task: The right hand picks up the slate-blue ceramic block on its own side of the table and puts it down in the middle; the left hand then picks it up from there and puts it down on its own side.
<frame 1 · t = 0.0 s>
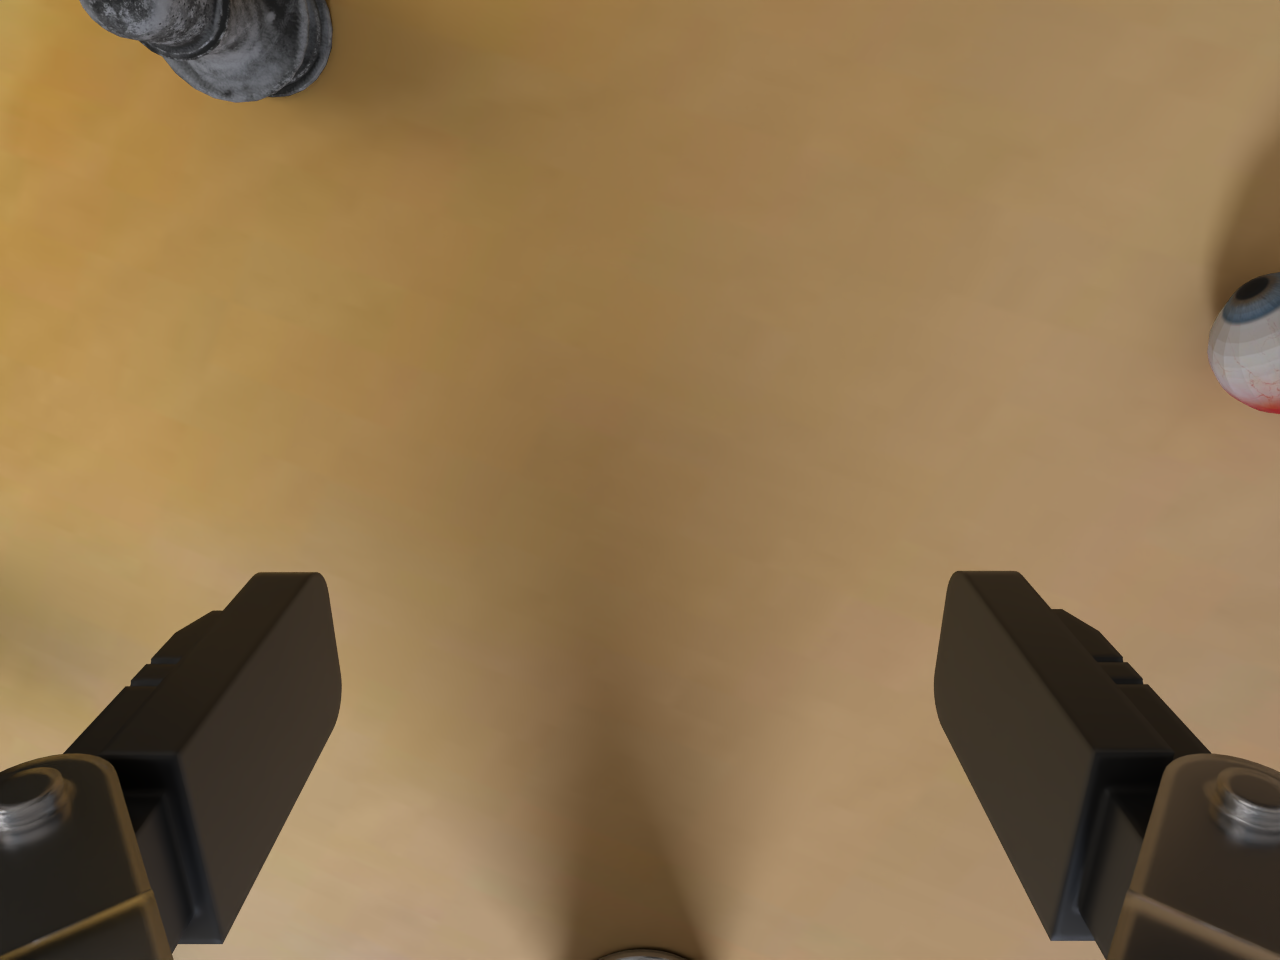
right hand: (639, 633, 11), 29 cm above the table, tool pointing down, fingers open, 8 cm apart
grey tall turned piece: (267, 25, 35), on the table
eyeball: (1242, 324, 39), on the table
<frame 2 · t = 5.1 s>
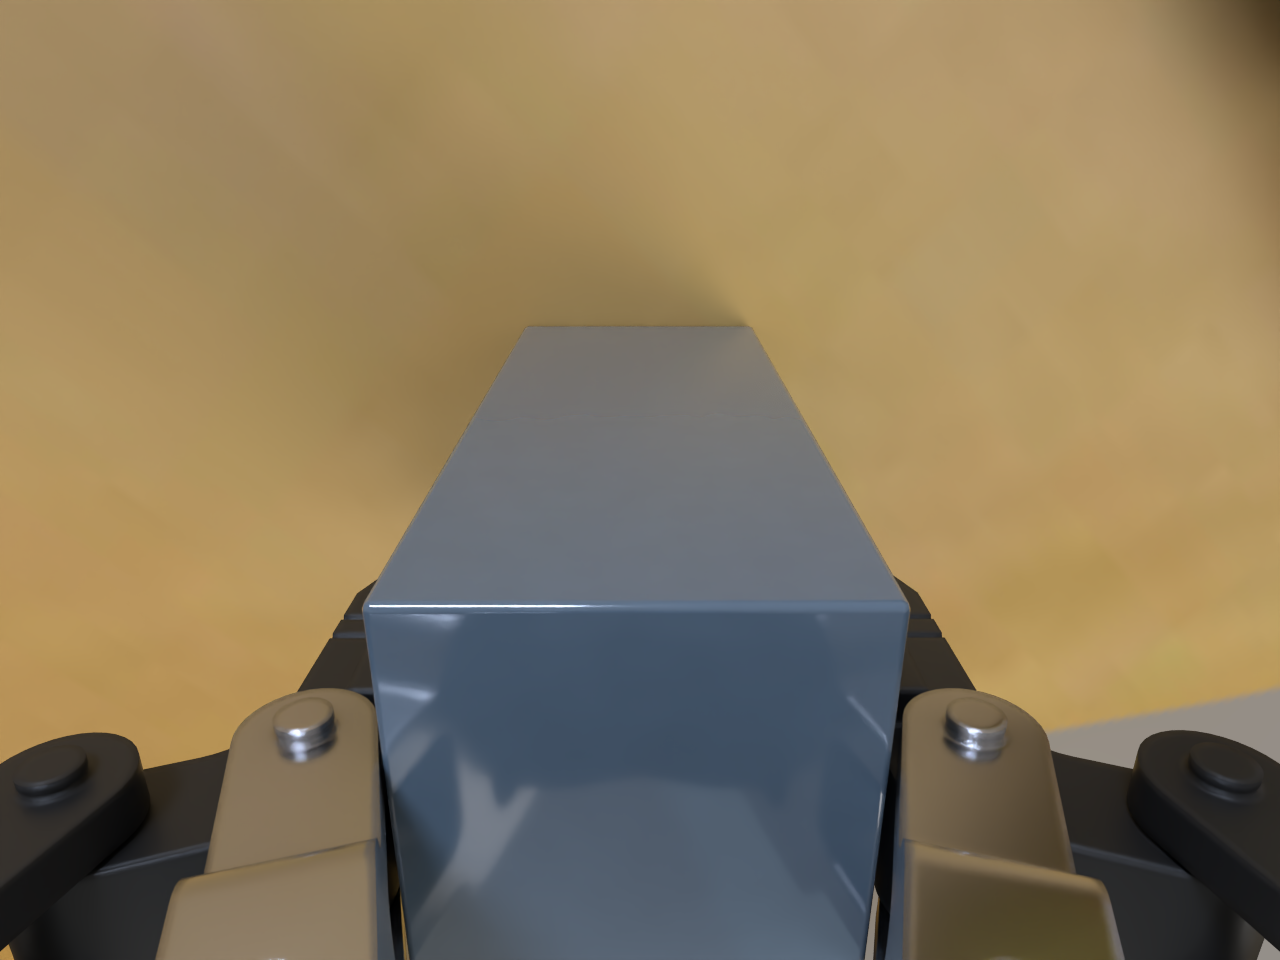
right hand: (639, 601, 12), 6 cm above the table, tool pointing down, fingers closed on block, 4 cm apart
block: (638, 460, 17), on the table, touching right hand
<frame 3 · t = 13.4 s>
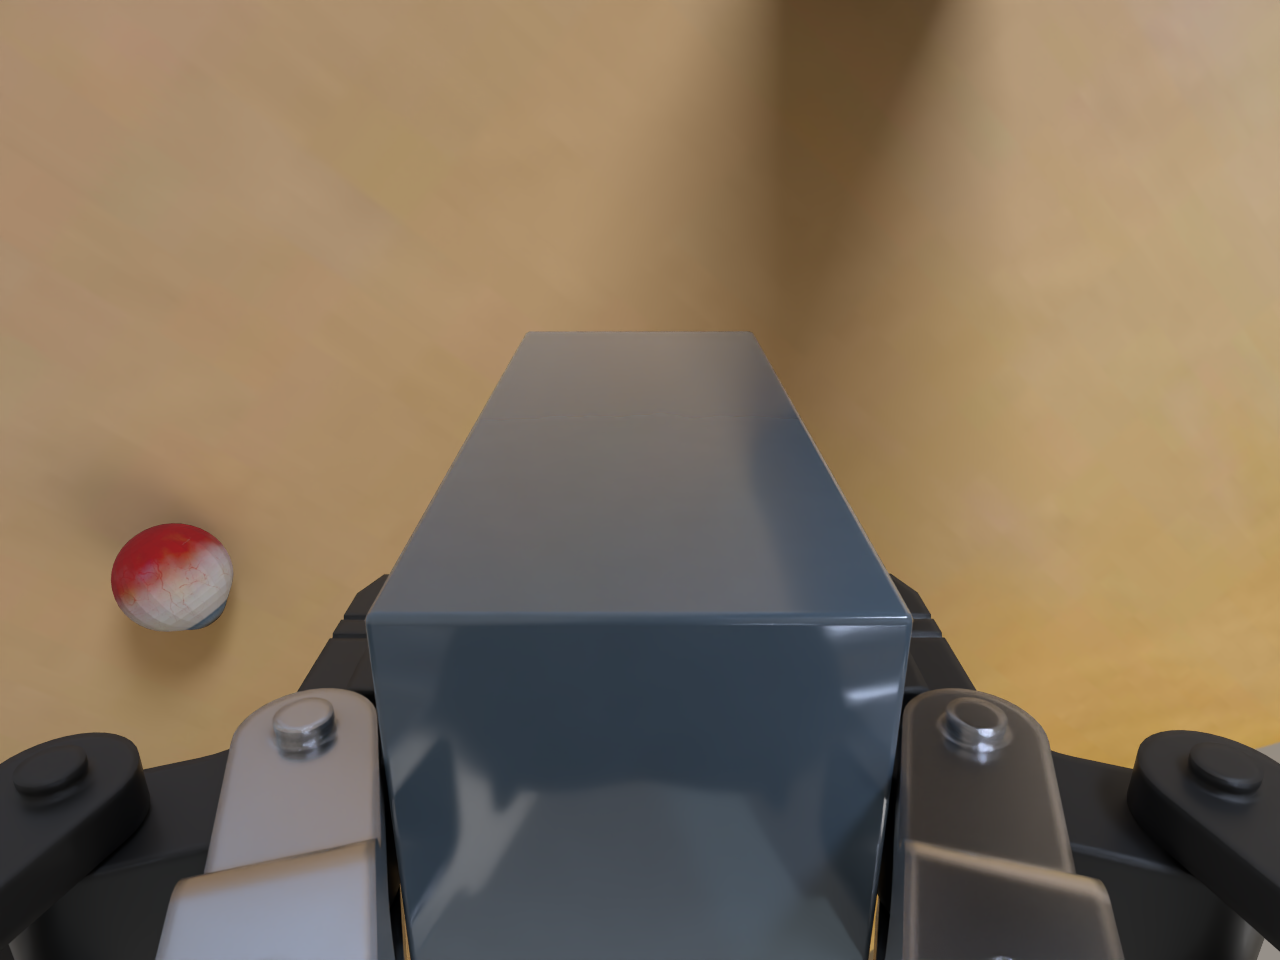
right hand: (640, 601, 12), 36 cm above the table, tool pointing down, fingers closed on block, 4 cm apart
block: (639, 465, 17), point 30 cm above the table, touching right hand
eyeball: (202, 553, 52), on the table
when the right hand's fingers open (7 cm above the table, at t = 21.7 s): block drops 1 cm, on the table.
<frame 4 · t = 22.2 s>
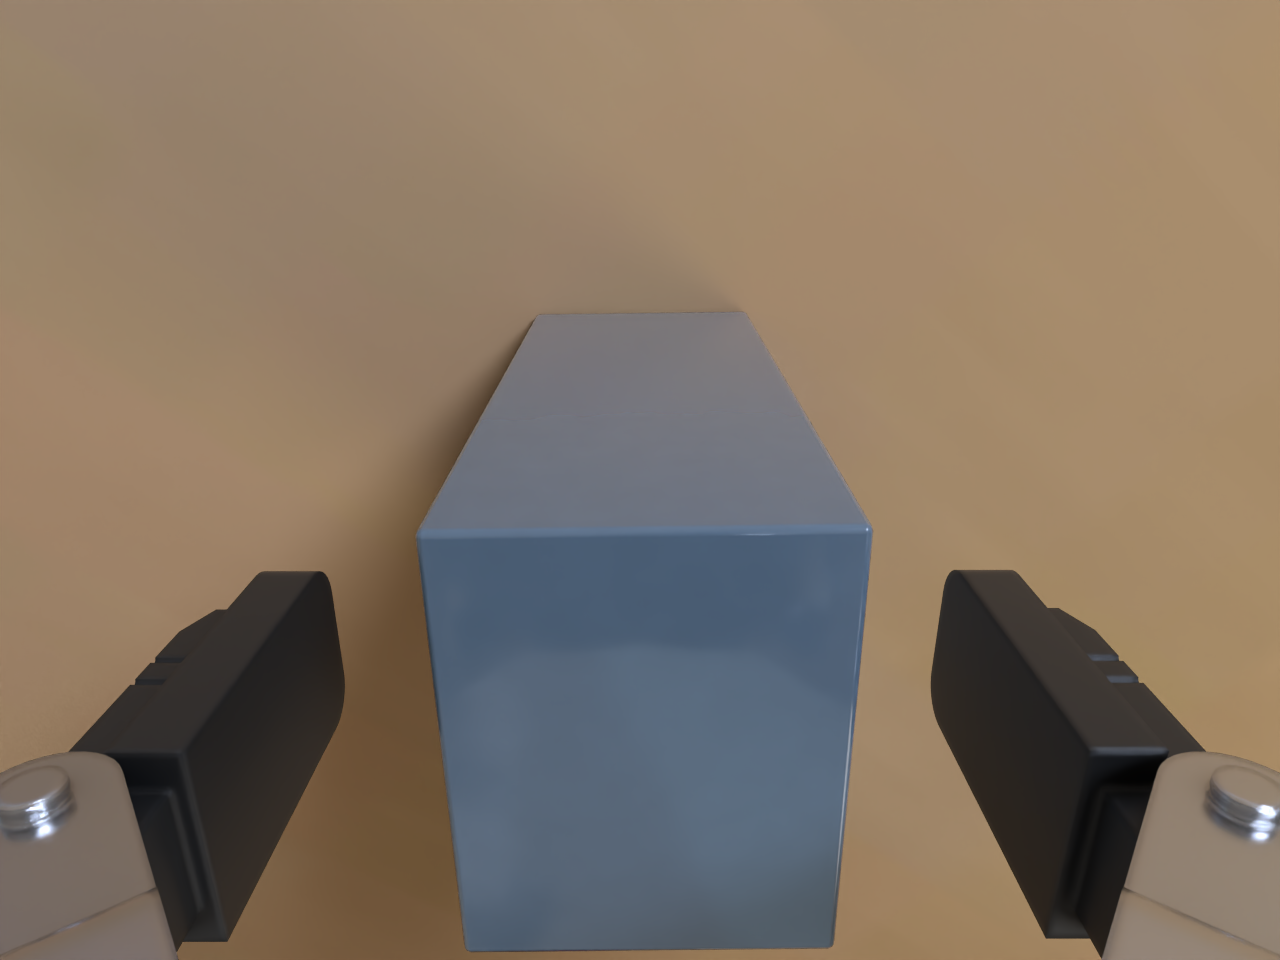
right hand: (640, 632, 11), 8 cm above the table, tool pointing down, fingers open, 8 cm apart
block: (642, 438, 19), on the table
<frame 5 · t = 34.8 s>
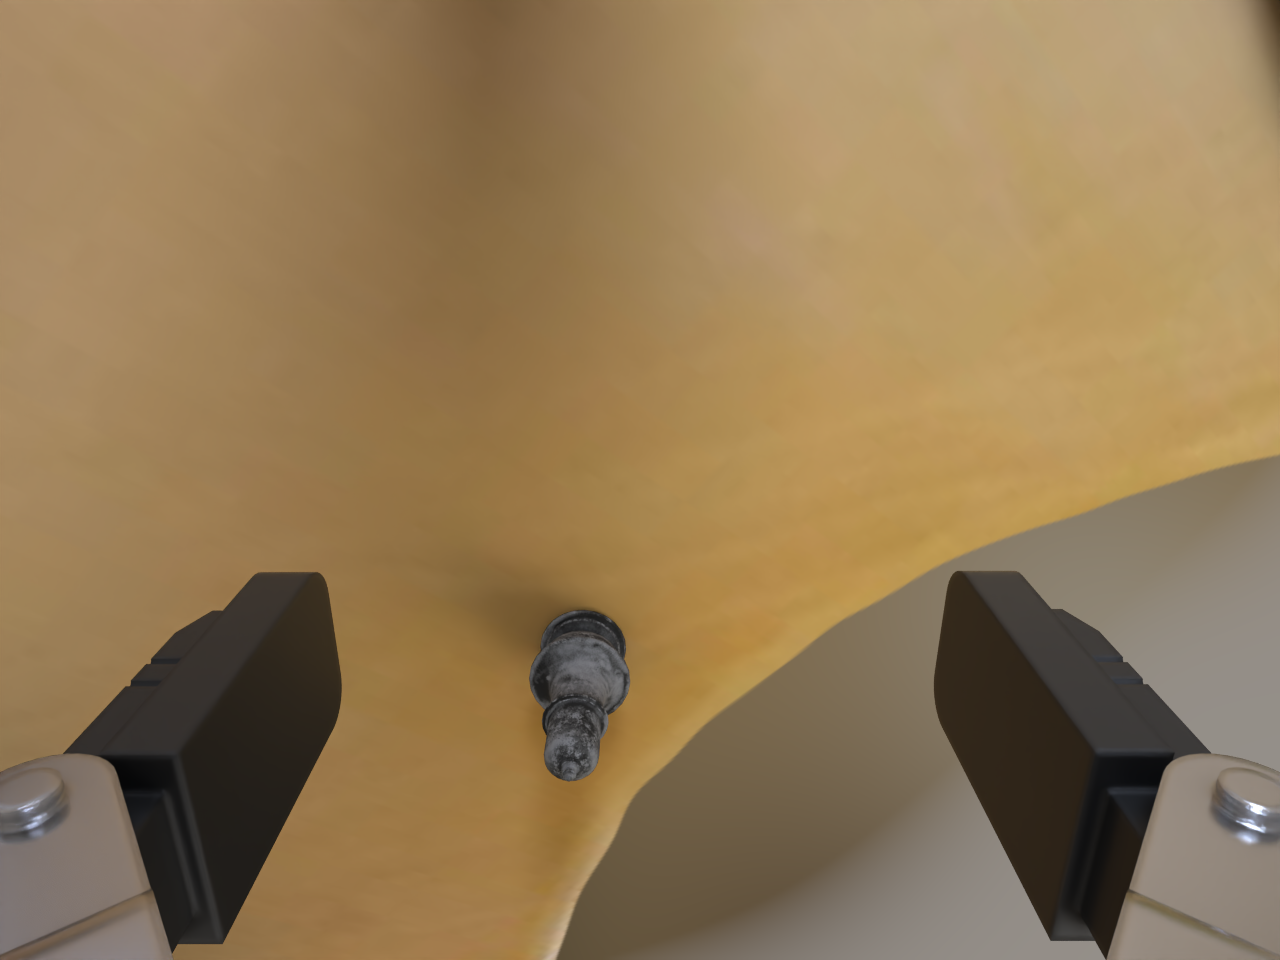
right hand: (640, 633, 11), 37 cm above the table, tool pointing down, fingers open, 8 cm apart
grey tall turned piece: (583, 645, 54), on the table
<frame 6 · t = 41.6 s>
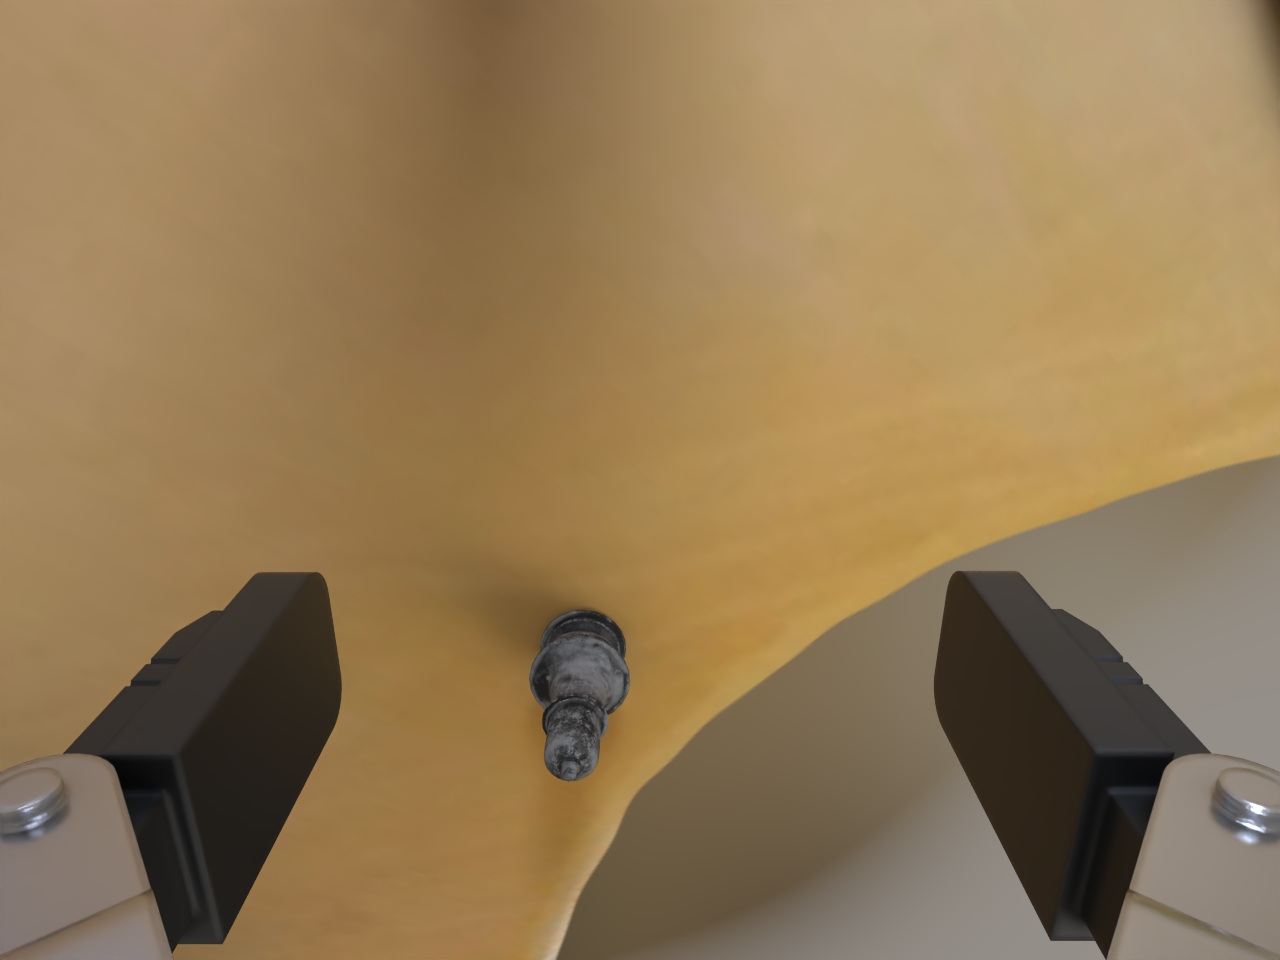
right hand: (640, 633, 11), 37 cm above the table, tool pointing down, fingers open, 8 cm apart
grey tall turned piece: (583, 645, 54), on the table
when the left hand's fingers open (6 cm above the table, at t = 48.6 s): block drops 1 cm, on the table.
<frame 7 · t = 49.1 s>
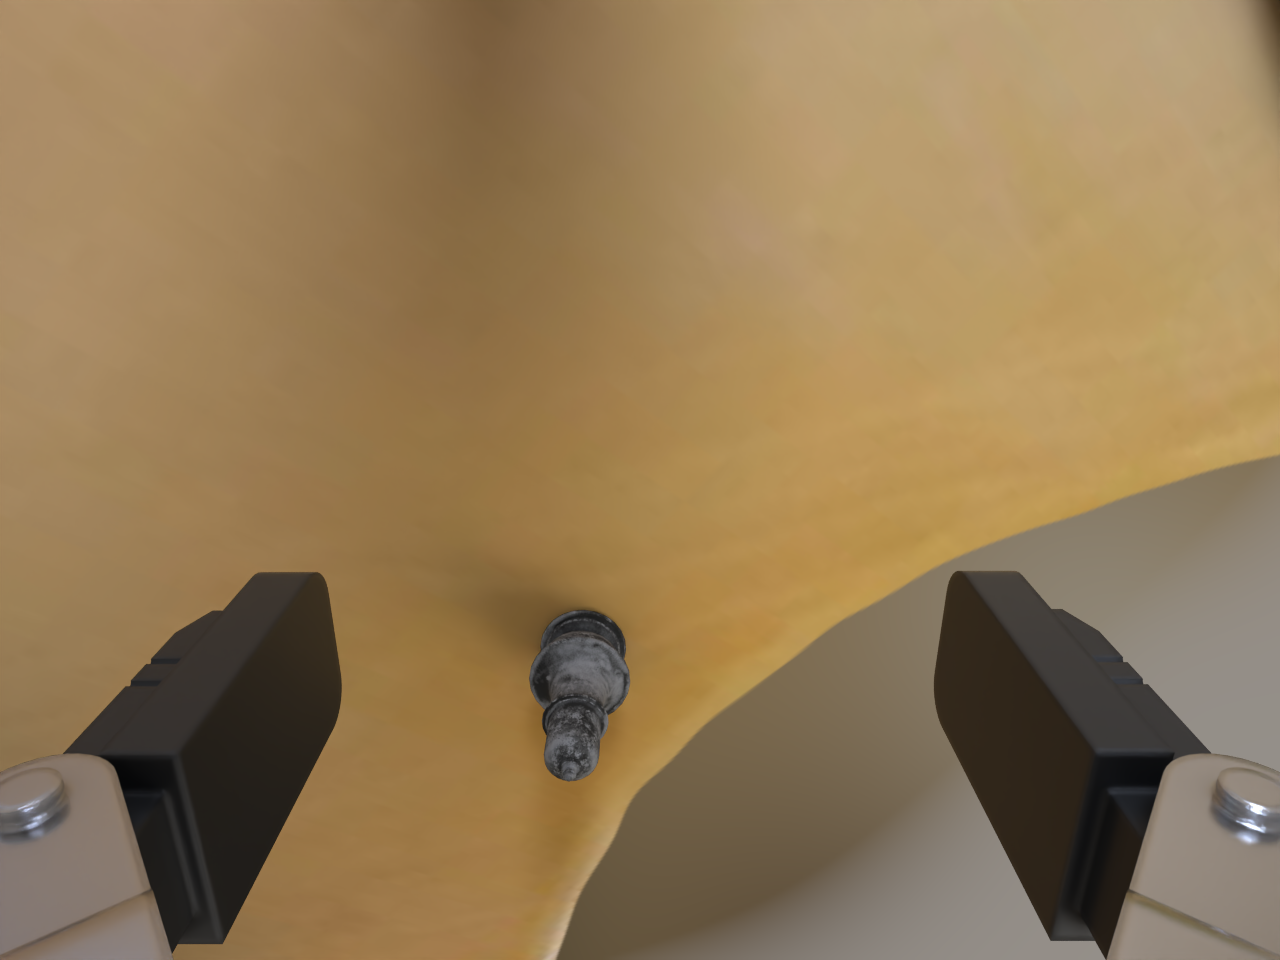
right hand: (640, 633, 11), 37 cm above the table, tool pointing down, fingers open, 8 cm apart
grey tall turned piece: (583, 645, 54), on the table
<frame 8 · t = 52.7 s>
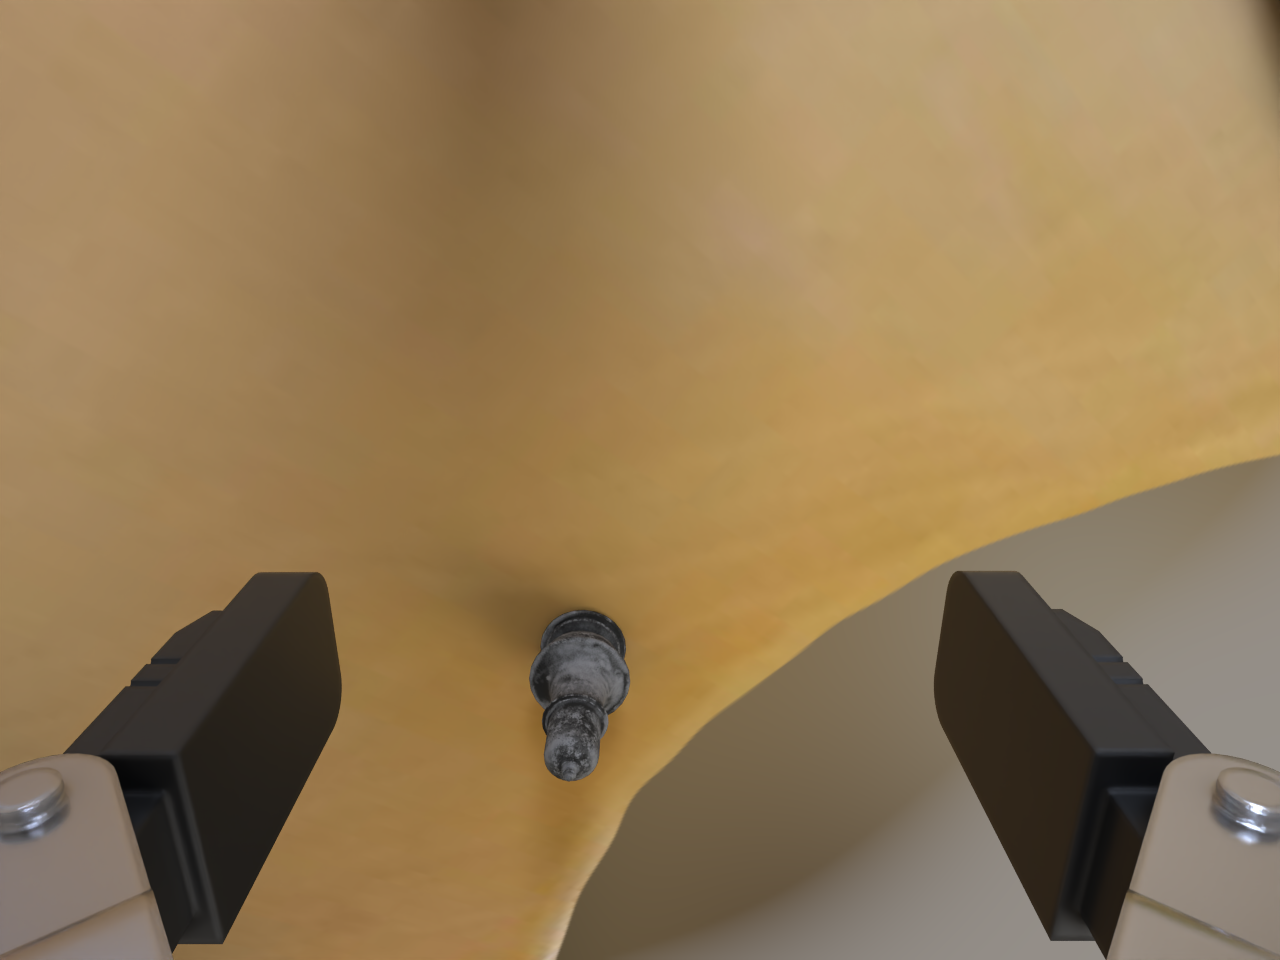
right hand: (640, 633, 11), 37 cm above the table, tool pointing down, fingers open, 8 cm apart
grey tall turned piece: (583, 645, 54), on the table
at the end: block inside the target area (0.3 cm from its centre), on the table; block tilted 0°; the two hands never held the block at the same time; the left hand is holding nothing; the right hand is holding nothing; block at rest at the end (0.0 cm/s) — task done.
